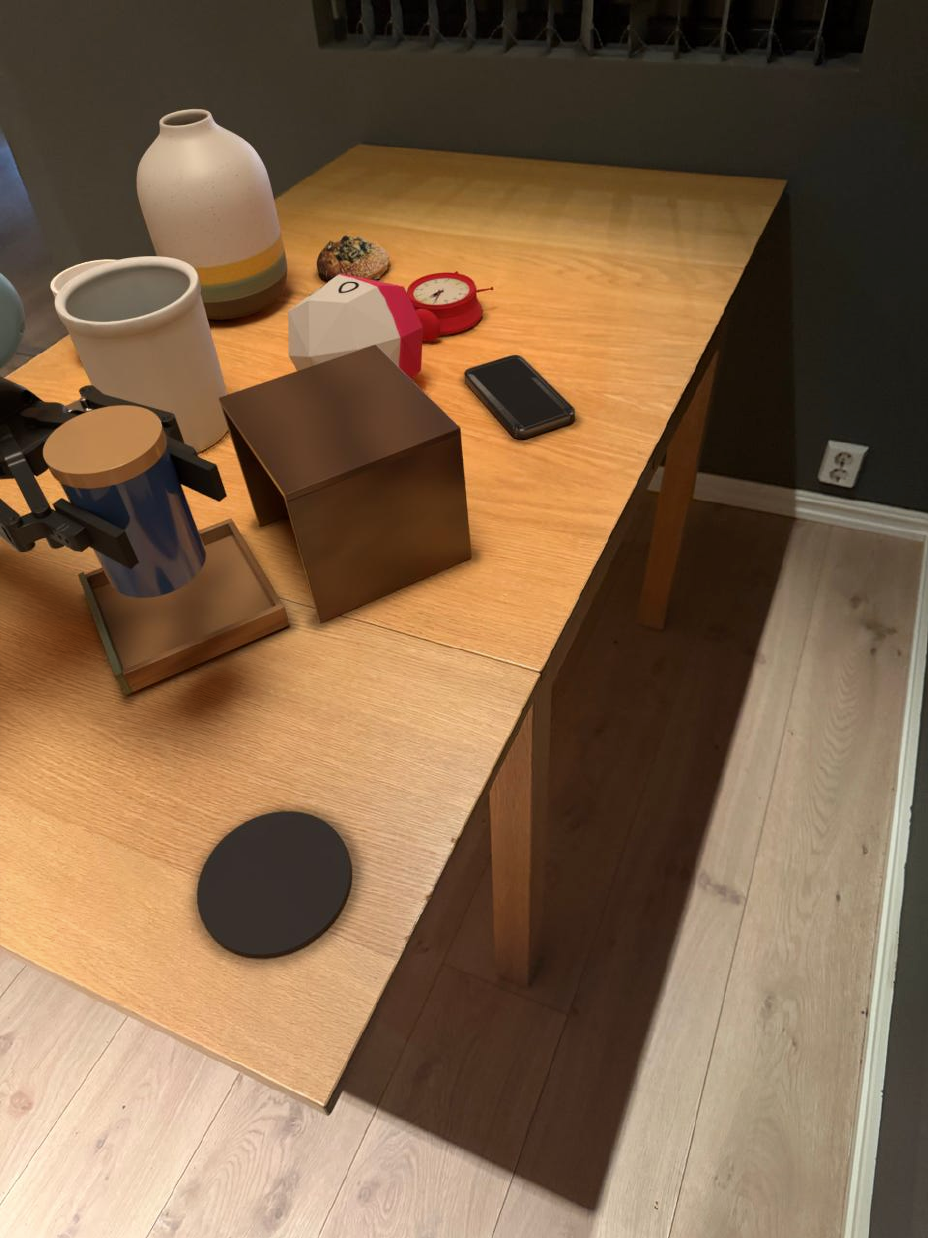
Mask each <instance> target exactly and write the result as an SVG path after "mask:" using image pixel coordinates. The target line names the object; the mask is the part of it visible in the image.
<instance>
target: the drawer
mask: <svg viewBox="0 0 928 1238" xmlns="http://www.w3.org/2000/svg"><path fill="white" fill-rule="evenodd" d="M198 530H199V533H200V536H201V538H202V541H203V544H204V546H205V550H206V559H205V563H204V565H203V567H202V569H201V570H200V572H199V573H198V574H197V575H196V577H195V578H193V579H192V580H191V581H190V582H189V583H187V584H186V585H184V586H183V587H181V588H179V589H177V590H175V591H173V592H171V593H168V594H165V595H161V596H157V597H151V598H134V597H129V596H126V595H123V594H121V593H119V592H118V591H116V590H115V589H114V588H113V587H112V586H111V584H110V582H109V580H108V578H107V576H106V574H105V572H104V570H103V568H102V567H100V568H97V569H95V570H94V569H93V570H92V571H89V572H87V573H85V572H84V571H82V572H80V573H77V577H78V579H79V582H80V585H81V588H82V590H83V594H84V596H85V598H86V601H87V604H88V606H89V610H90V612H91V615H92V617H93V620H94V623H95V626H96V628H97V632H98V634H99V636H100V639H101V642H102V645H103V647H104V651H105V653H106V655H107V658H108V661H109V664H110V666H111V669H112V672H113V674H114V677H115V678H116V681H117V683H118V684H119V686H120V688H121V689H122V691H123V693H124V695H125V696H128V695H129V694H132V693H134V692H138V691H139V690H141V689H144V688H147V687H149V686H151V685H153V684H156V683H158V682H160V681H162V680H165V679H167V678H169V677H171V676H174V675H176V674H179V673H181V672H183V671H185V670H188V669H190V668H193V667H195V666H198V665H199V664H202V663H204V662H206V661H209V660H211V659H214V658H215V657H218V656H221V655H222V654H223V655H224V654H225V653H227V652H230V651H232V650H234V649H236V648H239V647H241V646H244V645H246V644H248V643H251V642H253V641H255V640H258V639H260V638H262V637H265V636H267V635H270V634H271V633H274V632H276V631H279V630H281V629H283V628H286V627H288V626H290V624H291V623H290V620H289V617H288V614H287V610H286V607H285V605H284V604H283V602H282V599H281V598H280V597H279V595H278V593H277V592H276V591H275V588H274V587H273V585H272V583H271V581H270V580H269V579H268V577H267V575H266V573H265V571H264V570H263V568H262V567H261V565H260V564H259V562H258V560H257V559H256V557H255V555H254V554H253V552H252V550H251V548H250V546H249V545H248V543H247V542H246V540H245V538H244V536H243V535H242V533H241V531H240V529H239V527H237V525H236V523H235V522H234V519H233V518H232V517H230V518H228V519H224V520H222V521H219V522H217V523H215V524H212V525H209V526H206V527H204V528H202V529H198Z"/></svg>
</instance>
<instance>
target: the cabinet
mask: <svg viewBox="0 0 928 1238" xmlns="http://www.w3.org/2000/svg"><path fill="white" fill-rule="evenodd" d="M219 402H220V404H221V408H222V411H223V414H224V417H225V421H226V424H227V427H228V433H229V437H230V439H231V443H232V446H233V449H234V453H235V456H236V459H237V462H238V465H239V468H240V471H241V474H242V478H243V482H244V484H245V488H246V490H247V495H248V497H249V500H250V504H251V506H252V509H253V513H254V515H255V519H256V523H257V524H258V526H259V527H262V526H264V525H267V524H270V523H272V522H275V521H278V520H280V519H282V518H285V517H288V516H289V520H290V524H291V528H292V531H293V535H294V537H295V542H296V546H297V549H298V553H299V557H300V560H301V563H302V567H303V571H304V574H305V577H306V581H307V585H308V588H309V592H310V596H311V600H312V602H313V607H314V610H315V613H316V618H317V620H318V621H319V623H320V624H322V623H325V622H327V621H329V620H331V619H334V618H336V617H339V616H341V615H344V614H346V613H347V612H350V611H353V610H355V609H356V608H359V607H361V606H364V605H366V604H368V603H371V602H373V601H375V600H377V599H380V598H382V597H385V596H387V595H389V594H392V593H394V592H396V591H398V590H401V589H403V588H406V587H407V586H410V585H413V584H414V583H417V582H419V581H421V580H424V579H426V578H429V577H431V576H434V575H436V574H438V573H440V572H442V571H444V570H447V569H450V568H451V567H454V566H456V565H458V564H461V563H463V562H465V561H467V560H470V559H472V558H473V556H472V545H471V535H470V523H469V512H468V511H469V510H468V499H467V498H468V497H467V489H466V488H467V487H466V477H465V465H464V454H463V443H462V430H461V427H460V425H458V424H457V423H456V422H455V421H454V419H452V418H451V417H450V416H449V415H448V413H446V412H445V411H444V410H443V409H442V408H441V407H440V406H439V405H438V404H437V403H436V402H435V401H434V400H433V399H432V398H431V397H430V396H429V395H428V394H427V393H426V392H425V391H424V390H423V389H422V388H421V387H420V386H419V385H418V384H417V383H416V382H415V381H414V380H413V379H410V378H409V377H408V376H407V375H406V374H405V373H404V372H403V371H402V370H401V369H400V368H399V367H398V366H397V365H396V364H395V363H394V362H393V361H392V360H391V359H390V358H389V357H388V356H387V355H386V354H385V353H384V352H383V351H382V350H381V349H380V348H379V347H378V346H377V345H373V346H370V347H367V348H364V349H361V350H358V351H355V352H352V353H349V354H346V355H343V356H340V357H337V358H334V359H331V360H328V361H326V362H323V363H320V364H317V365H314V366H311V367H308V368H305V369H302V370H299V371H297V370H295V371H294V372H293V371H292V372H290V373H288V374H283V375H282V376H279V377H276V378H273V379H270V380H267V381H263V382H261V383H258V384H255V385H252V386H249V387H246V388H243V389H241V390H238V391H235V392H232V393H229V394H227V395H226V396H223V397H220V398H219Z"/></svg>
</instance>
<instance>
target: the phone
mask: <svg viewBox="0 0 928 1238" xmlns="http://www.w3.org/2000/svg"><path fill="white" fill-rule="evenodd" d="M463 375H464V383H465V384H466V385H467V386H468V388H470V390H471V391H472V392H473V393H474V394H475V395H476V396H477V398H478V399H479V400H480V401H481V403H482V404H483V405H484V406H485V407H486V408H487V409H488V411H490V413H491V414H492V415H493V416H494V417H495V418H496V420H498V422H499V423H500V424H501V425H502V427H504V428H505V430H506V431H507V432H508V433H509V434H510V435H511V437H512V438H514V439H517V440H526V439H529V438H532V437H536V436H538V435H542V434H544V433H547V432H550V431H553V430H556V429H559V428H563V427H565V426H568V425H570V424H573V423H574V422H575V420H576V408H575V407H573V405H572V404H571V403H569V401H567V399H565V398H564V396H563V395H561V393H560V392H558V391H557V389H555V387H553V386H552V384H551V383H549V382H548V380H546V379H545V377H544V376H542V375H541V374H540V372H539V371H537V370H536V369H535V368H534V366H532V365H531V364H530V363H529V361H527V360H526V359H525V358H524V357H523V356H522V355H519V354H511V355H507V356H504V357H501V358H498V359H494V360H491V361H488V362H485V363H481V364H478V365H475V366H471V367H469V368H467V369H465V371H464V373H463Z"/></svg>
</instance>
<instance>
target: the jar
mask: <svg viewBox="0 0 928 1238" xmlns="http://www.w3.org/2000/svg"><path fill="white" fill-rule="evenodd" d="M43 457H44V460H45V462H46V464H47V466H48V468H49V469H48V470H49V472H50V473H51V475H52V477H53V478H54V479H55V480H56V481H57V482H58V483H59V485H60V486H61V489H62V491H63V493H64V494H65V497H66V498H67V501H68V502H70V503H72V504H74V505H76V506H78V507H80V508H82V509H84V510H86V511H88V512H89V513H91V514H93V515H95V516H97V517H99V518H101V519H103V520H105V521H107V522H109V523H111V524H112V525H114V526H116V527H118V528H120V529H122V530H124V531H125V532H126V534H127V537H128V539H129V541H130V543H131V545H132V548H133V550H134V552H135V554H136V556H137V558H138V561H139V563H138V564H137V565H135V566H134V567H133V568H132V569H129V568H127V567H125V566H123V565H122V564H120V563H118V562H116V561H114V560H112V559H111V558H109V557H107V556H105V555H103V554H102V553H100V552H98V551H96V550H94V549H92V551H93V553H94V554H95V556H96V559H97V560H98V562H99V564H100V566H101V568H103V570H104V572H105V574H106V576H107V578H108V580H109V582H110V584H111V586H112V587H113V588H114V589H115V590H116V591H118V592H119V593H121V594H123V595H126V596H129V597H134V598H151V597H157V596H161V595H165V594H168V593H171V592H173V591H175V590H177V589H179V588H181V587H183V586H184V585H186V584H187V583H189V582H190V581H191V580H192V579H193V578H195V577H196V575H197V574H198V573H199V572H200V570H201V569H202V567H203V565H204V563H205V559H206V550H205V546H204V544H203V541H202V538H201V536H200V533H199V530H200V529H199V528H198V525H197V523H196V520H195V518H194V517H195V516H194V515H193V512H192V509H191V506H190V504H189V501H188V499H187V496H186V494H185V491H184V488H183V485H181V483H180V480H179V477H178V475H177V472H176V469H175V467H174V464H173V461H172V459H171V456H170V453H169V451H168V448H167V437H166V434H165V431H164V429H163V426H162V423H161V421H160V419H159V418H158V416H157V415H156V414H154V413H153V412H152V411H150V410H148V409H145V408H142V407H137V406H128V405H121V406H109V407H104V408H99V409H95V410H92V411H89V412H86V413H83V414H81V415H79V416H76V417H74V418H72V419H71V420H69V421H67V422H65V423H64V424H62V425H61V426H60V427H58V428H57V429H56V430H55V431H54V432H53V433H52V434H51V435H50V436H49V438H48V439H47V441H46V442H45V445H44V448H43Z"/></svg>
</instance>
